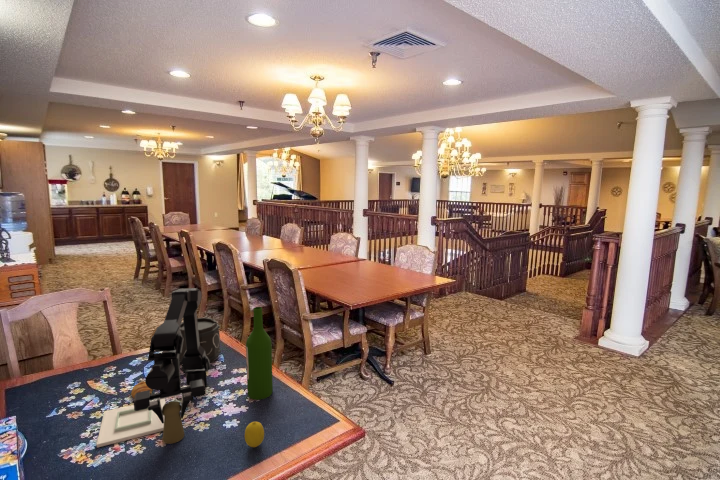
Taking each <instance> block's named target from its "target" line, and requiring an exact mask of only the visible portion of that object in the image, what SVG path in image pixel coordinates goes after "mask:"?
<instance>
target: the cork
mask: <svg viewBox="0 0 720 480" xmlns="http://www.w3.org/2000/svg"><path fill="white" fill-rule="evenodd" d="M162 413H163V415H164V429H163V431H162V442H163V443H164V444H166V445H167V444H168V445H169V444H172V445H173V444H175V443H177V442H180V441H181V440H183V439H184V437H185V435H186V434H185V430H184V425H183V422H182V421H183V419H181V402H180V401H177V400H171V401H168V402H165V405H164V406H163V408H162Z"/></svg>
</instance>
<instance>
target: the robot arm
mask: <svg viewBox="0 0 720 480" xmlns="http://www.w3.org/2000/svg"><path fill="white" fill-rule="evenodd" d="M201 301H202V291H201V290H200V289H198V287H196V288H195V287H193V288H192V287H191V288H188V287H187V288H178V289H175V290H173V291H172V292H171V300H170V303H169V307H168V309H167V313H166V315H165V319H164V321H163V322H162V324H160V325H159V326H157V327H156V329H155V332H154V333H153V335H152V336H151V339H150V342H149V343H150V344H149V351H148V357H147V360H148V362H151V361H153V365H152V368H151V369H150V371H149V372H148V373H147V375H146V377H145V380H144V382H146V385H147V386H148V387H149V388H150V389H152V390H153V391H159V392H156V393H152V394H150V390H147V391H143V392H138V393H136V394H135V396H134V399H133V405H134V411H139V410H143V409H147V408H148V410H152V411H153V412H154V413H155V414H156V415H157V416H158V418H159V419H160V421H161V422H162V424H163V423H164V417H163V413H162V408H161V404H160V399H165V400H166V399H169V398H173V397H178V396H181V402H180V404H181V411H180V416H181V420H183V419H184V416H185V412H186V410H187V408H188V407H189V404H190V403H191V402H193V401H194V400H195V399H194V398H200V397H204V396H205V395H206V388H207V387H208V382H207V373H208V371H209V370H211V363H209V362H210V361H209V359H208V357H207V356H206V354H205V349H204V348H203V347H202V346H201V345H200V342H199V332H198V322H197V318H198V314H197V312H198V311H197V310H198V309H199V306H200V303H201ZM182 322H183V323H184V332H185V341H186V351H185V353H184V356H183V358H182V363H181V362H179V355H180V354H181V352H182V346H183V340H184V338H183V337H182V334H181V331H180V325H181V323H182ZM156 352H157V353H156ZM180 365H181V367H180ZM181 368H182V369H181ZM180 369H181V370H182V374H185V381H186V385H184V386H183V387H182V382H181V370H180Z"/></svg>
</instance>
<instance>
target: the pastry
mask: <svg viewBox="0 0 720 480" xmlns="http://www.w3.org/2000/svg"><path fill="white" fill-rule="evenodd" d="M147 390H150V394H153V391H154V390H152V389H150V388H149V387H148V386H147V385H146V382H145V381H141V382H138V383H136V384H135V385H134V386H133V388H132V389H131V392H130V395H131V398H133V400H134V396H135V394H136V393H138V392H143V391H147Z"/></svg>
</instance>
